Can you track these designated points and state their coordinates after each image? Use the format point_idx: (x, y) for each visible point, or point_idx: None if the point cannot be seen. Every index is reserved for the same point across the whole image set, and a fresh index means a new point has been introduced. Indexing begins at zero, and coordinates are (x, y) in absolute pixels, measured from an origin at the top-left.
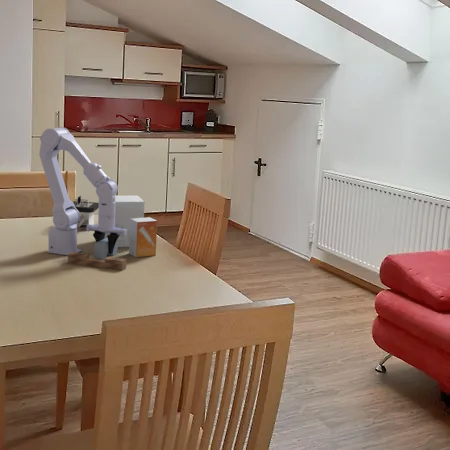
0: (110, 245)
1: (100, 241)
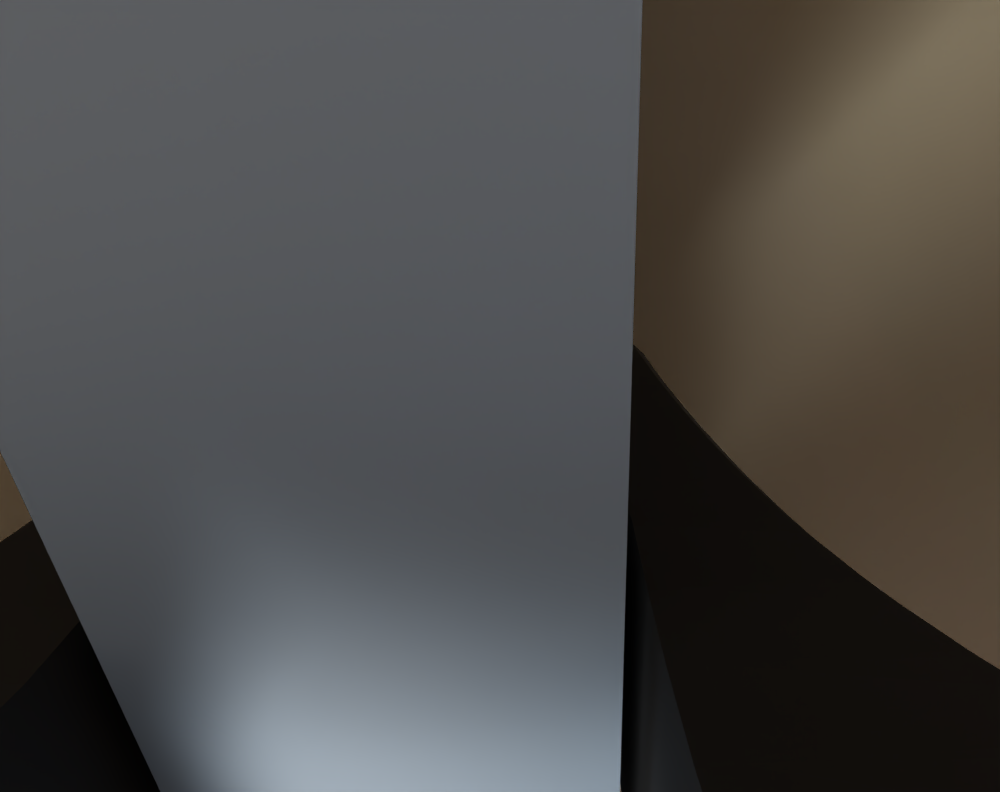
0: None
1: (515, 537)
